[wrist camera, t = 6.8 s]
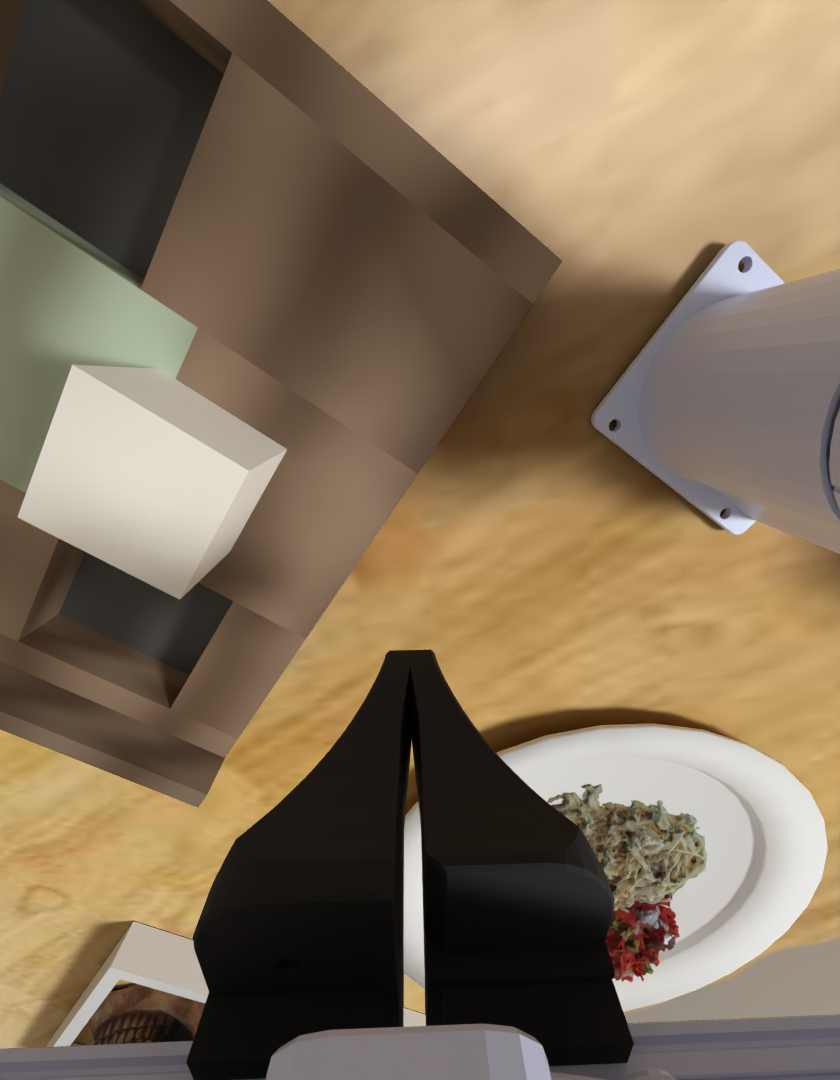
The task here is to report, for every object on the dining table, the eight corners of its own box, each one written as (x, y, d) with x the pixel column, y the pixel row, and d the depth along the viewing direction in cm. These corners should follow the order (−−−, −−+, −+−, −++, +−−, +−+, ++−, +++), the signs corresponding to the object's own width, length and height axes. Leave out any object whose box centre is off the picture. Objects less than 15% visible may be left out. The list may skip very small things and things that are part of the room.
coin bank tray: (441, 1020, 36) (444, 1064, 33) (326, 1110, 41) (321, 1153, 39) (133, 921, 30) (110, 967, 27) (48, 1042, 35) (22, 1089, 33)
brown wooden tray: (540, 278, 16) (586, 242, 12) (235, 731, 24) (198, 807, 19) (28, -160, 12) (-182, -458, 8) (-140, 564, 19) (-291, 614, 15)
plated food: (591, 612, 22) (621, 651, 19) (886, 838, 29) (944, 894, 26) (288, 901, 30) (273, 963, 27) (578, 1022, 37) (593, 1081, 34)
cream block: (287, 449, 16) (249, 470, 12) (229, 551, 17) (180, 599, 13) (158, 368, 15) (72, 364, 11) (108, 485, 16) (17, 517, 12)
